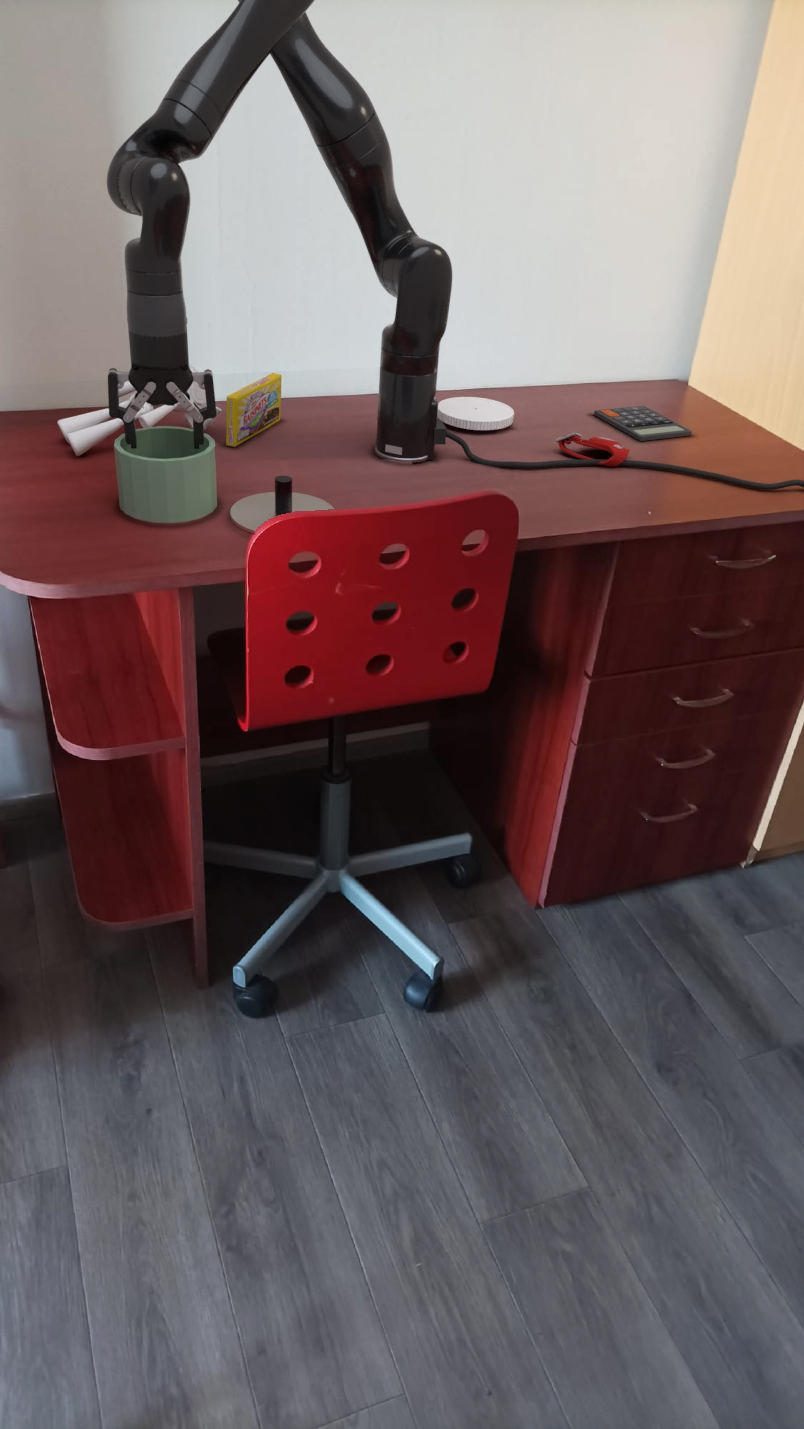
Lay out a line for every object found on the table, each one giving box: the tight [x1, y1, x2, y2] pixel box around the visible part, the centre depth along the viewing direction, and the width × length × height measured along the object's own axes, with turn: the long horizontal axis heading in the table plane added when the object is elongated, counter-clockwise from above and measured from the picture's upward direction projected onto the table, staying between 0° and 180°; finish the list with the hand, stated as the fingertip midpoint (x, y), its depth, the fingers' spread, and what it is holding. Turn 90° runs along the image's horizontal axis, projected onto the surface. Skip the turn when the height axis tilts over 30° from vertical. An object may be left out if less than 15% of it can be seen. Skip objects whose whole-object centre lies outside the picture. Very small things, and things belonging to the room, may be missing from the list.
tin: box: [113, 425, 218, 524], centre depth 147 cm, size 14×14×10 cm
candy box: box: [225, 372, 283, 448], centre depth 175 cm, size 16×2×8 cm, turn 158°
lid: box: [229, 475, 335, 535], centre depth 147 cm, size 15×15×6 cm
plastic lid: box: [437, 396, 515, 431], centre depth 188 cm, size 14×14×2 cm
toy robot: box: [57, 363, 222, 457], centre depth 169 cm, size 19×12×25 cm
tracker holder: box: [555, 432, 630, 468], centre depth 176 cm, size 12×4×10 cm
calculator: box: [593, 405, 693, 442], centre depth 194 cm, size 12×1×15 cm
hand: (165, 446), depth 144 cm, fingers open, 8 cm apart
